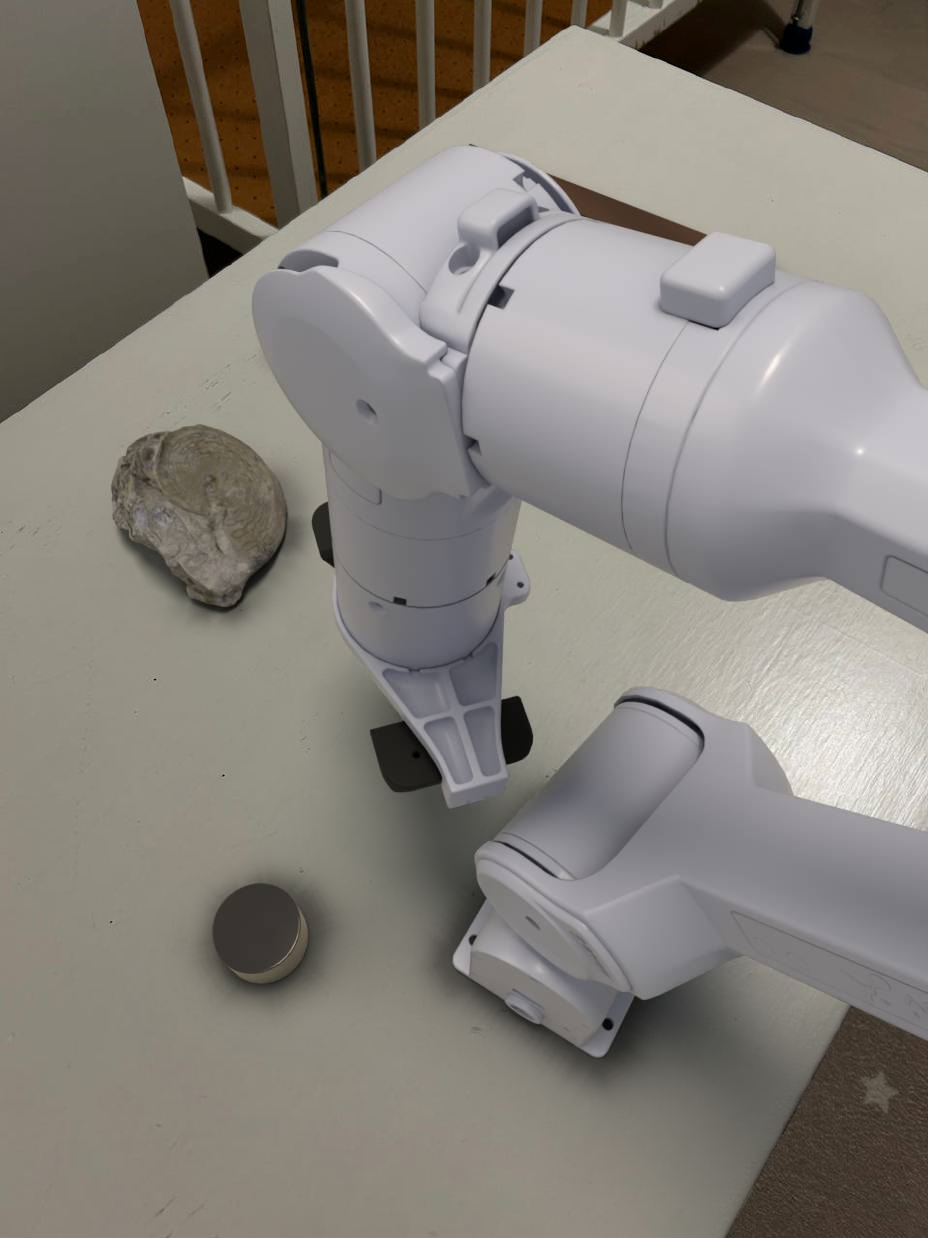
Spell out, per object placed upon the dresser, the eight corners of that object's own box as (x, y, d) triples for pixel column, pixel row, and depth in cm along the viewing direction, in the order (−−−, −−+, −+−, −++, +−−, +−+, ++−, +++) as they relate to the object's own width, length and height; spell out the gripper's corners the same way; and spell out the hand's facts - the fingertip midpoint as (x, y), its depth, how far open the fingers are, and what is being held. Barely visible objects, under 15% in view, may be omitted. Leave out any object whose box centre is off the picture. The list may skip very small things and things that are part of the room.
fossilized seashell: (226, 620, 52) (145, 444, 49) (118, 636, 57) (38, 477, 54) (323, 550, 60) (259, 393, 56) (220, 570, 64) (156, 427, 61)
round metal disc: (274, 1001, 45) (264, 992, 42) (206, 954, 46) (192, 942, 43) (325, 925, 46) (318, 912, 44) (258, 881, 47) (247, 866, 45)
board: (603, 505, 59) (607, 489, 57) (283, 353, 65) (279, 335, 63) (758, 273, 69) (764, 254, 68) (469, 160, 75) (469, 141, 74)
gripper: (624, 703, 28) (554, 824, 40) (475, 332, 34) (452, 534, 46) (389, 768, 27) (389, 872, 39) (276, 369, 33) (306, 568, 45)
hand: (413, 692), depth 42 cm, fingers open, 7 cm apart
